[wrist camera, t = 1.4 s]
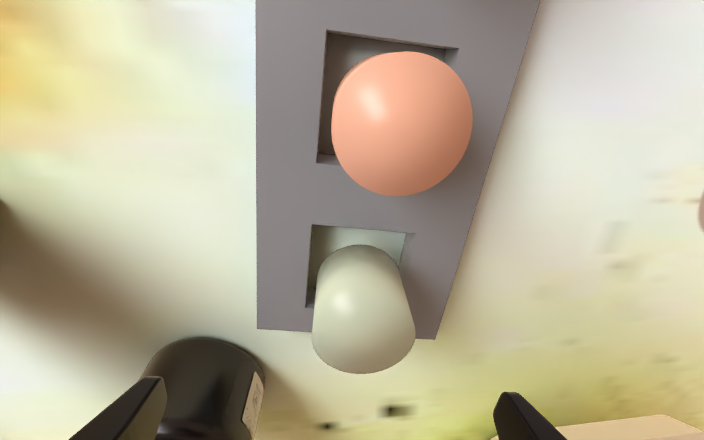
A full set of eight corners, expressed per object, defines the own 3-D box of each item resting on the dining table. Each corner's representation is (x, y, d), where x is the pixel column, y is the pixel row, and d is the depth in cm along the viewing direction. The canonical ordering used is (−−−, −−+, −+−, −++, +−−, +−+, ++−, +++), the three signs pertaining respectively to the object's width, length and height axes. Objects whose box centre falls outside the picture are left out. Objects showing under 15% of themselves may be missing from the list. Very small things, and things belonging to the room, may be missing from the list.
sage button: (391, 314, 21) (404, 376, 17) (314, 309, 20) (308, 371, 16) (406, 248, 18) (425, 300, 14) (320, 241, 18) (315, 292, 14)
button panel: (427, 318, 24) (435, 339, 23) (263, 308, 23) (257, 328, 22) (603, -294, 12) (650, -356, 10) (267, -377, 11) (253, -463, 9)
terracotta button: (424, 167, 16) (452, 202, 12) (328, 157, 16) (325, 189, 12) (448, 61, 14) (490, 62, 10) (338, 46, 14) (339, 41, 10)
